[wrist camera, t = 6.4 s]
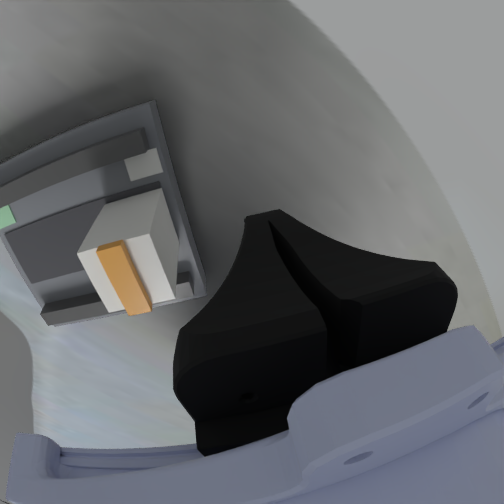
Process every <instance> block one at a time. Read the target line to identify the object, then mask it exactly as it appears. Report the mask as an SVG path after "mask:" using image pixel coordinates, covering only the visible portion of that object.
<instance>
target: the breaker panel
mask: <svg viewBox="0 0 504 504" xmlns="http://www.w3.org/2000/svg"><path fill="white" fill-rule="evenodd" d="M160 188H162V191H163V194H164V197H165V200H166V203H167V206H168V210H169V213H170V216H171V219H172V222H173V225H174V228H175V231H176V234H177V237H178V240H179V249H178V263H177V280H176V299H172V300H167V301H163V302H158V303H153V304H152V308H153V307H158V306H163V305H167V304H172V303H177V302H181V301H186V300H191V299H195V298H200V297H204V296H207V288H206V275H205V272H204V269H203V266H202V263H201V260H200V256H199V253H198V250H197V247H196V244H195V240H194V237H193V234H192V231H191V227H190V224H189V221H188V218H187V214H186V211H185V207H184V204H183V201H182V197H181V194H180V190H179V187H178V183H177V180H176V176H175V173H174V169H173V166H172V162H171V158H170V155H169V151H168V147H167V143H166V140H165V136H164V132H163V128H162V124H161V120H160V117H159V113H158V109H157V105H156V101H155V100H152V101H149V102H145V103H142V104H139V105H136V106H133V107H129V108H126V109H123V110H121V111H118V112H115V113H112V114H109V115H106V116H104V117H101V118H98V119H96V120H93V121H90V122H88V123H85V124H83V125H80V126H78V127H75V128H73V129H71V130H68V131H66V132H64V133H61V134H59V135H57V136H55V137H52V138H50V139H48V140H46V141H44V142H42V143H39V144H37V145H35V146H33V147H31V148H29V149H27V150H25V151H23V152H21V153H19V154H18V155H16V156H14V157H12V158H10V159H8V160H6V161H5V162H3V163H1V164H0V237H1V239H2V241H3V243H4V245H5V247H6V249H7V251H8V253H9V254H10V256H11V258H12V260H13V262H14V264H15V265H16V267H17V269H18V271H19V272H20V274H21V276H22V277H23V279H24V281H25V282H26V284H27V286H28V287H29V289H30V291H31V292H32V294H33V295H34V297H35V298H36V300H37V302H38V303H39V305H40V306H41V308H42V311H41V314H40V315H41V316H42V318H43V319H44V320H45V322H46V323H47V325H48V326H49V325H54V326H61V325H66V324H72V323H77V322H83V321H88V320H93V319H98V318H104V317H109V316H114V315H119V314H124V313H127V312H126V310H125V309H124V310H120V311H115V312H110V313H109V312H108V310H107V308H106V307H105V305H104V303H103V302H102V300H101V298H100V296H99V295H98V293H97V291H96V289H95V287H94V286H93V284H92V282H91V280H90V278H89V276H88V275H87V273H86V271H85V269H84V267H83V265H82V263H81V261H80V259H79V257H78V255H77V252H78V250H79V248H80V246H81V245H82V243H83V241H84V239H85V237H86V236H87V234H88V232H89V230H90V228H91V227H92V225H93V223H94V222H95V220H96V218H97V216H98V215H99V213H100V211H101V210H102V208H103V207H104V205H105V204H108V203H111V202H115V201H118V200H121V199H125V198H128V197H131V196H135V195H138V194H142V193H145V192H149V191H152V190H156V189H160Z"/></svg>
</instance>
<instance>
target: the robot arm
mask: <svg viewBox="0 0 504 504" xmlns="http://www.w3.org/2000/svg"><path fill="white" fill-rule="evenodd" d="M244 222H245V228H244V234H243V238H242V242H241V245H240V248H239V251H238V254H237V257H236V259H235V262H234V264H233V266H232V268H231V270H230V272H229V274H228V276H227V277H226V279H225V281H224V282H223V284H222V285H221V287H220V288H219V290H218V291H217V293H216V294H215V295H214V297H213V298H212V299H211V300H210V301H209V303H208V304H207V305H206V306H205V307H204V308H203V309H202V310H201V311H200V312H199V313H198V314H197V315H196V316H195V317H194V318H193V319H191V320H190V321H189V322H188V323H187V324H186V325H185V326H184V327H182V328H181V329H180V331H179V335H178V339H177V343H176V348H175V354H174V361H173V390H174V392H175V395H176V397H177V399H178V400H179V401H180V403H181V404H182V405H183V407H184V408H185V409H186V411H187V412H188V413H189V415H190V416H191V417H192V418H193V420H194V421H195V430H196V444H187V445H178V446H167V447H153V448H133V449H84V448H65V447H60V446H59V445H58V444H57V443H56V442H54V441H53V440H52V439H50V438H48V437H46V436H43V435H39V434H29V433H16V437H15V442H14V447H13V452H12V457H11V463H10V469H9V476H8V484H7V491H6V499H7V500H8V501H9V502H11V503H14V504H504V337H502V338H501V339H499V340H497V341H496V342H494V343H492V344H491V345H490V344H489V342H488V341H487V340H486V338H485V337H484V336H483V335H482V333H481V332H480V331H479V330H478V329H477V328H476V327H475V326H474V325H470V326H464V327H460V328H456V329H452V330H450V331H448V332H447V329H448V326H449V324H450V321H451V319H452V316H453V313H454V310H455V307H456V303H457V298H458V293H457V287H456V285H455V284H454V282H453V281H452V280H451V279H450V277H449V276H448V275H447V274H446V273H445V272H444V271H443V270H442V269H441V268H440V267H439V266H438V265H437V264H436V263H435V262H429V261H418V260H408V259H401V258H395V257H390V256H385V255H380V254H376V253H372V252H369V251H365V250H361V249H358V248H355V247H352V246H349V245H347V244H344V243H341V242H339V241H336V240H334V239H332V238H329V237H327V236H325V235H323V234H321V233H319V232H317V231H315V230H313V229H311V228H310V227H308V226H306V225H304V224H303V223H301V222H299V221H298V220H296V219H295V218H293V217H291V216H290V215H288V214H287V213H285V212H283V211H282V210H280V209H278V210H273V211H269V212H264V213H260V214H255V215H251V216H247V217H246V218H245V219H244Z"/></svg>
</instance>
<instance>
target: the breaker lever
mask: <svg viewBox="0 0 504 504" xmlns="http://www.w3.org/2000/svg"><path fill="white" fill-rule="evenodd" d="M178 249H179V240H178V237H177V234H176V231H175V228H174V225H173V222H172V219H171V216H170V213H169V210H168V206H167V203H166V200H165V197H164V194H163V191H162V188H160V189H156V190H152V191H149V192H145V193H142V194H138V195H135V196H131V197H128V198H125V199H121V200H118V201H115V202H111V203H108V204H105V205H104V207H103V208H102V210H101V211H100V213H99V215H98V216H97V218H96V220H95V222H94V223H93V225H92V227H91V228H90V230H89V232H88V234H87V236H86V237H85V239H84V241H83V243H82V245H81V246H80V248H79V250H78V252H77V255H78V257H79V259H80V261H81V263H82V265H83V267H84V269H85V271H86V273H87V275H88V276H89V278H90V280H91V282H92V284H93V286H94V287H95V289H96V291H97V293H98V295H99V296H100V298H101V300H102V302H103V303H104V305H105V307H106V308H107V310H108V312H109V313H110V312H115V311H120V310H124V309H125V310H126V312H127V313H128V315H129V316H132V315H137V314H142V313H147V312H151V311H152V304H153V303H158V302H163V301H167V300H172V299H176V280H177V263H178Z"/></svg>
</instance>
